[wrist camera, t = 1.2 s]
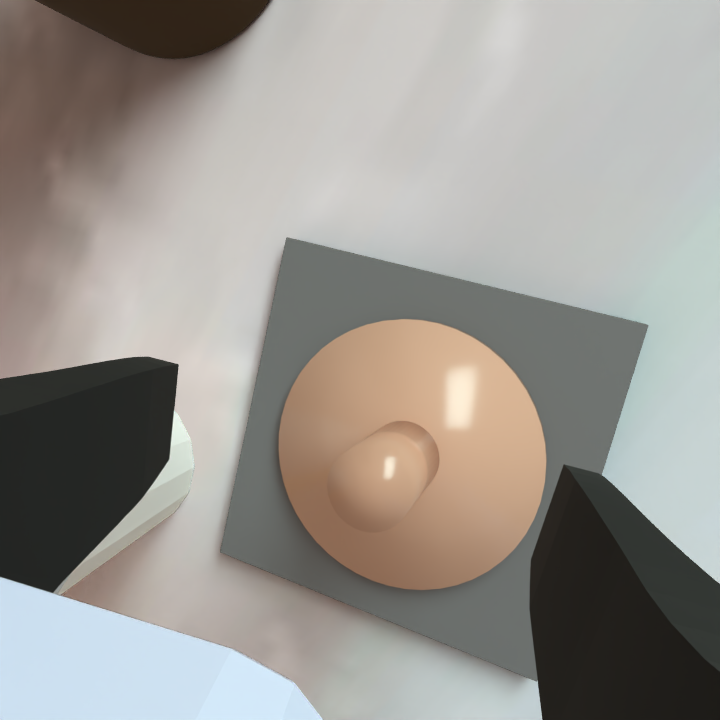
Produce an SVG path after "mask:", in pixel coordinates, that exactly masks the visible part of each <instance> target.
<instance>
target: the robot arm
mask: <svg viewBox="0 0 720 720" xmlns="http://www.w3.org/2000/svg"><path fill="white" fill-rule="evenodd" d="M177 375H178V364H175V363H171V362H167V361H163V360H159V359H155V358H151V357H132V358H124V359H117V360H111V361H105V362H99V363H93V364H88V365H82V366H77V367H71V368H66V369H60V370H55V371H49V372H43V373H36V374H29V375H23V376H16V377H10V378H3V379H0V720H323V719H322V718H321V717H320V715H319V714H318V713H317V711H316V710H315V709H314V707H313V706H312V705H311V704H310V702H309V701H308V700H307V698H306V697H305V696H304V694H303V693H302V692H301V691H300V689H299V688H298V687H297V685H296V684H295V683H294V682H293V681H292V680H290V679H289V678H287V677H285V676H283V675H281V674H279V673H278V672H276V671H274V670H272V669H270V668H268V667H267V666H265V665H263V664H261V663H259V662H257V661H255V660H254V659H252V658H250V657H248V656H246V655H244V654H243V653H241V652H239V651H237V650H235V649H232V648H229V647H226V646H222V645H219V644H216V643H213V642H209V641H206V640H203V639H200V638H197V637H193V636H190V635H187V634H184V633H180V632H177V631H174V630H171V629H167V628H164V627H161V626H158V625H154V624H151V623H148V622H145V621H142V620H138V619H135V618H132V617H129V616H125V615H122V614H119V613H116V612H112V611H109V610H106V609H103V608H99V607H96V606H93V605H90V604H87V603H83V602H80V601H77V600H74V599H70V598H67V597H64V596H61V595H57V594H54V593H53V592H54V591H55V590H56V589H57V588H58V587H59V585H60V584H61V583H62V582H63V581H64V580H65V579H66V578H67V577H68V576H69V575H70V574H71V573H72V572H73V571H74V570H75V568H76V567H77V566H78V565H79V564H80V563H81V562H82V561H83V560H84V559H85V558H86V557H87V556H88V555H89V554H90V553H91V552H92V551H93V550H94V549H95V548H96V547H97V546H98V545H99V544H100V543H101V542H102V540H103V539H104V538H105V537H106V536H107V535H108V534H109V533H110V532H111V531H112V530H113V529H114V528H115V527H116V526H117V525H118V524H119V523H120V522H121V521H122V520H123V519H124V517H125V516H126V515H127V514H128V513H129V512H130V511H131V510H132V509H133V508H134V507H135V506H136V505H137V504H138V502H139V501H140V500H141V499H142V498H143V497H144V495H145V494H146V493H147V491H148V490H149V488H150V487H151V486H152V484H153V483H154V482H155V480H156V479H157V477H158V476H159V474H160V473H161V471H162V470H163V468H164V467H165V465H166V464H167V462H168V461H169V458H170V448H171V437H172V427H173V417H174V406H175V396H176V386H177ZM529 610H530V619H531V628H532V637H533V646H534V654H535V662H536V670H537V678H538V687H539V695H540V703H541V711H542V719H543V720H720V584H719V583H718V582H716V581H715V580H714V579H713V578H712V577H711V576H709V575H708V574H707V573H706V572H705V571H704V570H702V569H701V568H700V567H699V566H698V565H697V564H696V563H694V562H693V561H692V560H691V559H690V558H689V557H688V556H686V555H685V554H684V553H683V552H682V551H681V550H680V549H679V548H678V547H677V546H675V545H674V544H673V543H672V542H671V541H670V540H669V539H668V538H667V537H666V536H665V535H664V534H663V533H662V532H661V531H660V530H659V529H658V528H656V527H655V526H654V525H653V524H652V523H651V522H650V521H649V520H648V519H647V518H646V517H645V516H644V515H643V514H642V513H641V512H640V511H639V510H638V509H637V508H636V507H635V506H634V505H633V504H632V503H631V502H630V501H629V500H628V499H627V498H626V497H625V496H624V495H623V494H622V493H621V492H620V491H619V490H618V489H617V488H616V487H615V486H614V485H613V484H612V483H610V482H609V481H608V480H607V479H606V478H605V477H603V476H602V475H601V474H599V473H596V472H592V471H588V470H584V469H580V468H576V467H573V466H569V465H565V464H564V465H563V468H562V471H561V474H560V476H559V479H558V482H557V485H556V488H555V491H554V494H553V497H552V500H551V502H550V505H549V508H548V511H547V514H546V517H545V520H544V523H543V526H542V529H541V531H540V534H539V537H538V540H537V543H536V546H535V549H534V552H533V555H532V557H531V566H530V603H529Z"/></svg>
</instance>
